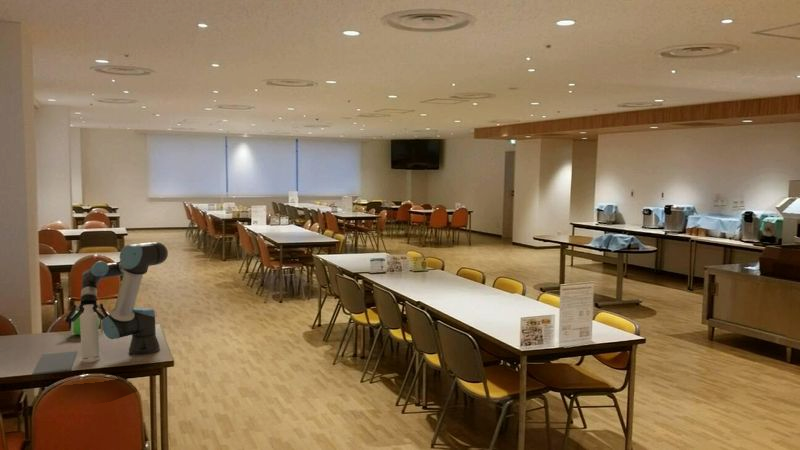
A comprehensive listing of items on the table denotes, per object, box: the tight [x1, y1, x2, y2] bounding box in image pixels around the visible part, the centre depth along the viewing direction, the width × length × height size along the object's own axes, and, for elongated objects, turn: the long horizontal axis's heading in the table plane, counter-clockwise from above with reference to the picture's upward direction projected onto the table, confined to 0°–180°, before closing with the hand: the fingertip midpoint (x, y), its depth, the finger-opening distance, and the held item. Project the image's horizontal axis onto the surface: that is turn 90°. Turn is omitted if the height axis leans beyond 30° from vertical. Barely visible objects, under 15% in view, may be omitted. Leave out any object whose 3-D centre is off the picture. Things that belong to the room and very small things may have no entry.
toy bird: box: [63, 310, 101, 336], centre depth 361 cm, size 18×17×15 cm
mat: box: [32, 350, 78, 376], centre depth 308 cm, size 32×16×1 cm, turn 23°
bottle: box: [80, 304, 100, 363], centre depth 313 cm, size 8×8×28 cm
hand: (86, 333), depth 312 cm, fingers open, 13 cm apart
